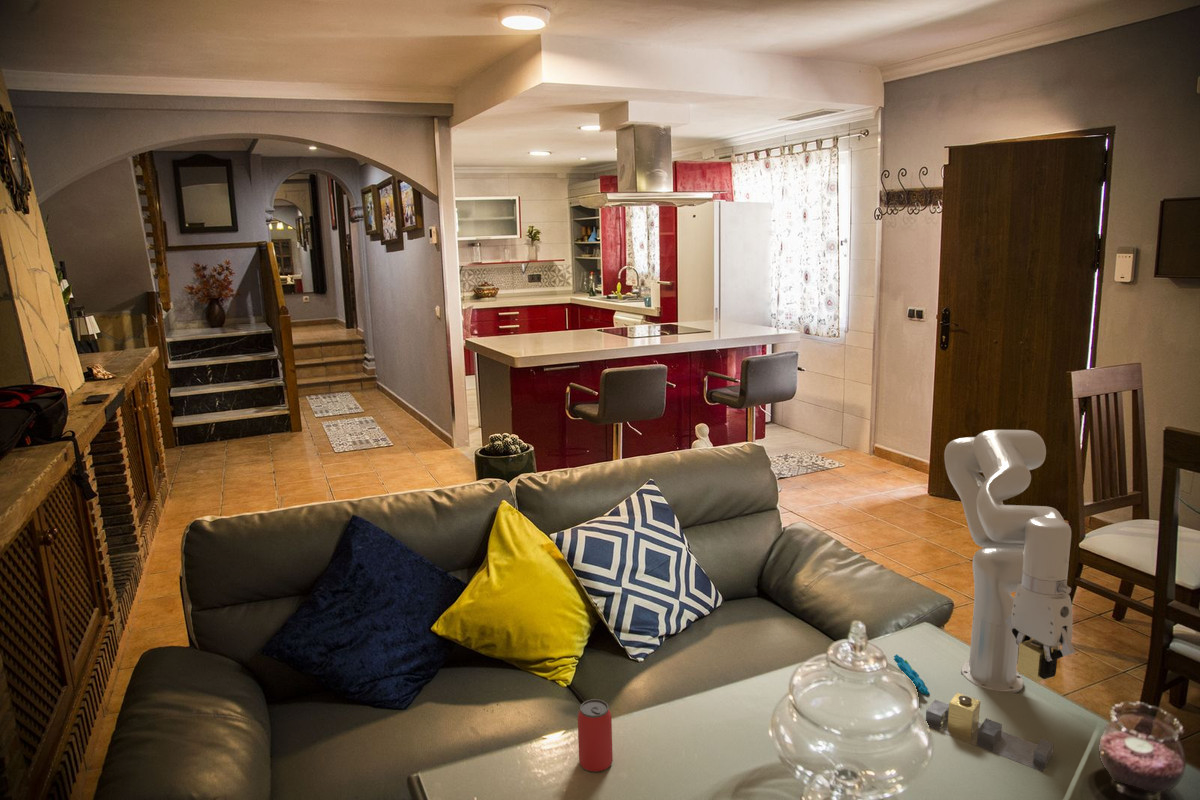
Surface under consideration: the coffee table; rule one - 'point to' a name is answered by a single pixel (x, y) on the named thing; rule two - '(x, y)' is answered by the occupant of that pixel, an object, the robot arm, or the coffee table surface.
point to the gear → (911, 674)
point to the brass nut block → (1031, 659)
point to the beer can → (595, 735)
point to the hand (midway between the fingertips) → (1035, 669)
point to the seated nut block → (963, 715)
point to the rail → (993, 739)
